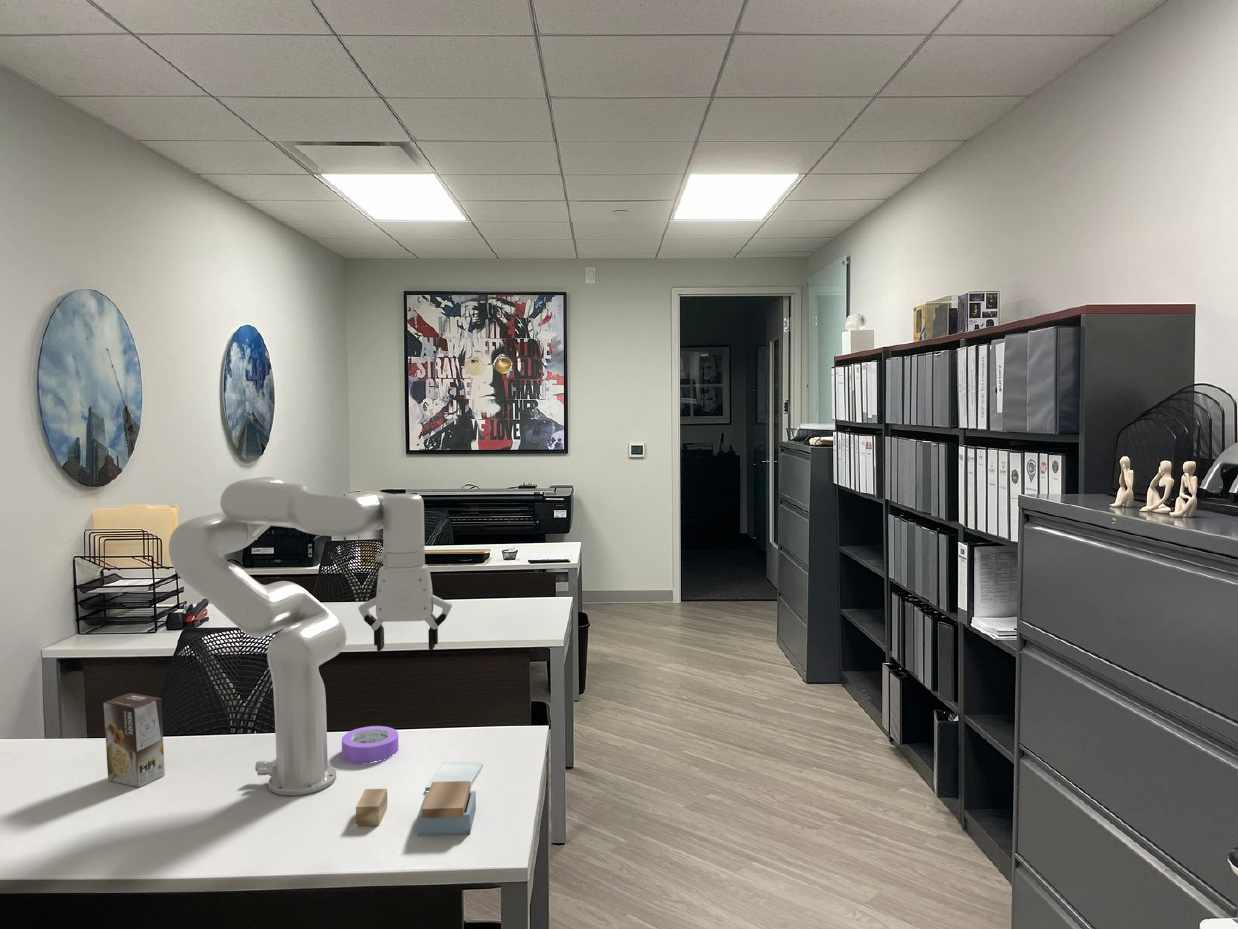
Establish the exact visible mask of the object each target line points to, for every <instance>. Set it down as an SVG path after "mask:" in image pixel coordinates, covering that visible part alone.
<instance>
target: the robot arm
mask: <svg viewBox="0 0 1238 929" xmlns="http://www.w3.org/2000/svg"><path fill="white" fill-rule="evenodd" d="M219 501H220V502H219V504H220V509H221V510H222V512H218V513H213V514H207V515H203V516H197V517H194V518H191V519H189V520H186V521H184V522H182V523H181V524H179V525H178V526H177V527H175V528H174V530H173V532H172V533H171V535H170V538H169V542H168V553H169V554H168V555H169V560H170V562H171V565H172V567H173V570H174V571H175V573H176V574H177V575H178V576H179V577H180V578H181V580H183V582H184V583H185V584H187V586H189V587H190V588H192V589H193V590H194V591H195V592H197V593H198V594H199V595H201V596H202V597H203V598H205V599H206V600H207V601H208V602H209V603H211V604H212V605H213V607H215V608H216V609H217V610H218V611H219V612H220V613H221V614H222V615H224V616H225V617H226V618H227V619H228V620H229V621H230V622H232V624H234V625H235V626H236V627H237V628H238V629H239V630H241V631H242V633H244V634H246V636H249V637H252V638H257V639H258V638H263V637H266V636H269V635H271V634H274V633H276V634H275V635H274V636H273V637H272V639H271V640H270V642H269V644H268V646H267V652H266V653H267V654H266V655H267V656H266V658H267V659H266V660H267V664H268V668H269V672H270V675H271V681H272V689H273V691H272V692H273V707H274V708H273V710H274V729H275V730H274V732H275V733H274V734H275V757H276V758H274V759H272V761H267V760H260V761H256V762H255V766H254V768H255V769H254V770H255V772H256V773H257V776H268V775H269V779H268V789H269V791H271V793H273V794H277V795H280V796H303V795H309V794H311V793H315V792H316V793H317V792H319V791H322V790H323V789H326V788H327V787H329V786H330V785H332V784H333V783H334V782H335V780H336V779H337V772H336V771H337V770H336V769H335V767H333V766H331V765H329V764H328V762H329V761H328V732H327V731H328V730H327V729H328V728H327V702H326V701H327V700H326V697H327V696H326V687H325V683H324V680H323V678H322V676H321V674H320V670H319V667H320V666H321V665H323V664H324V663H326V662H328V661H329V660H331V659H333V658H335V657H336V656H338V655H339V654H340V653H341V652H342V650H344V648H345V645H346V642H347V633H346V632H347V631H346V629H345V627H344V624H343V623H342V622H341V620H340V619H339V618H338V616H336V615H335V614H334V613H333V612H332V611H331V610H330V609H328V608H327V607H326V606H325V605H324V604H322V603H321V602H320V601H319V600H318V599H317V598H315V597H314V596H313V595H312V594H311V593H309V591H308V590H306V589H305V588H304V587H302V586H301V585H299V584H297V583H295V582H292V581H288V580H287V581H286V580H280V581H275V582H271V583H269V584H261V583H260V582H259V581H257V580H256V579H255V578H253V577H252V576H250V574H248V573H247V572H246V571H245V570H244V569H242V568H241V567H239V566H238V565H236V564H234V563H232V562H230V561H228V560H225V559H223V558H222V557H221V556H224V555H227V554H231V553H235V552H238V551H240V550H243V549H245V548H247V547H248V546H250V545H251V544H252V543H253V542H255V541H256V540H257V539H258V538H259V537H260V536H261V535H262V534H263V533H265V531H266V530H268V529H269V528H270V527H271V526H272V527H282V528H291V529H293V528H294V529H296V530H298V531H301V532H302V533H306V534H310V535H318V536H328V537H336V538H339V537H341V538H351V537H352V538H353V537H356V536H357V537H358V536H361V535H363V534H366V533H369V532H370V533H371V532H374V531H378V530H382V536H383V537H382V538H383V539H382V540H383V543H382V544H383V545H382V546H383V551H382V552H380V553H376V554H375V561H376V562H381V563H382V565H383V566H381V567H379V570H378V575H377V585H376V596H375V597H374V598H371V599H370V600H368V601H366V602H364V603H362V604H361V605H360V606H358V607H357V608H358V611H359V613H360V615H361V617H362V618H363V621H364V622H365V623H366V624H367V625H368V626H369V627H371V630H372V631H373V645H374V646H376V651H377V652H381V651H382V650H383V649H384V647H385V628H384V626H383V623H384V622H394V623H395V622H423V621H425V623H426V624H427V625H429V629H428V634H427V636H428V638H427V639H428V650H429V651H433V650H434V649H435V647H436V645H438V644H439V633H438V632H439V628H438V627H439V626H440V625H441V624H442V623H443V622H445V620H446V619H447V617H448V615H449V613H450V612H451V609H452V607H453V605H452V603H450V602H449V601H446V600H444V599H442V598H441V597H438V596H436V595H435V594H433V583H432V578H431V571H430V568H429V565H428V564H426V558H425V557H426V556H425V555H426V554H425V553H426V552H425V550H426V549H425V546H426V545H425V505H424V504H425V503H424V499H423V497H422V496H421V495H420V494H418V493H417V494H416V493H389V492H384V491H378V490H373V491H372V490H369V491H365V492H358V493H353V494H350V495H345V496H344V495H343V496H342V495H328V494H327V495H326V494H315V493H312V492H311V490H310V489H309V488H308V487H307V486H306V485H304V484H301V483H291V482H290V483H288V482H283V481H282V480H280V479H279V478H276V477H274V476H262V477H261V476H260V477H254V478H247V479H240V480H238V481H235V482H233V483H231V484H229V485H228V486H226V488H225V489H224V490H223V492H222V494H221V496H220V500H219ZM434 605H435V606H436V607H439V608H441V609H442V610H441V612H440V614H439V615H438V616H437V617H436V615H435V614H434V613H433V612H434ZM373 607H375V616H376V617H375V616H374V615H372V614H371V612H370V609H371V608H373ZM277 632H278V633H277Z"/></svg>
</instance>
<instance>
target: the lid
mask: <svg viewBox="0 0 1238 929" xmlns="http://www.w3.org/2000/svg"><path fill="white" fill-rule="evenodd" d="M471 789H472V786H471V785H470V781H453V782H432V784H431V787H430V789H429V792H428V795H427V797H426V800H425V802H424V805H423V808H422V818H438V817H463V816H464V812H465V808H466V804H467V801H468V797H469V793H470V791H472V790H471Z"/></svg>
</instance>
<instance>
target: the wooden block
mask: <svg viewBox="0 0 1238 929" xmlns="http://www.w3.org/2000/svg"><path fill="white" fill-rule="evenodd" d="M387 806H388V788H366V789H364V791H363V792H362V794H361V796H360V798H359V800H358V802H357V803H356V805H355V823H356V824H355V826H356V827H367V826H368V825H369V826H373V825H374V826H375V825H376V826H380V825H381V822H382V820H383V818H384V816H385V814H386V811H387V809H388V807H387ZM384 813H385V814H384ZM383 815H384V816H383ZM379 824H380V825H379ZM369 826H368V827H369Z"/></svg>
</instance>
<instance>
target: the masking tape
mask: <svg viewBox="0 0 1238 929" xmlns="http://www.w3.org/2000/svg"><path fill="white" fill-rule="evenodd" d="M397 751H398V752H399V731H397V729H395V728H393V727H389V726H385V725H384V726H382V725H371V726H369V725H368V726H364V727H358V728H355V729H353V730H350V731H348V732H346V733H345V734H344V735H343V736H342V737H341V758H342V759H343V760H344V761H346V762H348V763H351V764H357V765H358V764H359V765H363V764H362V763H369V764H371V763H370V762H374V761H379V760H384V759H387V758H389V757H390V756H392V755H393V754H396V752H397ZM398 752H397V753H398ZM396 755H397V754H396ZM389 759H390V758H389ZM387 760H388V759H387ZM384 761H385V760H384Z"/></svg>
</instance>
